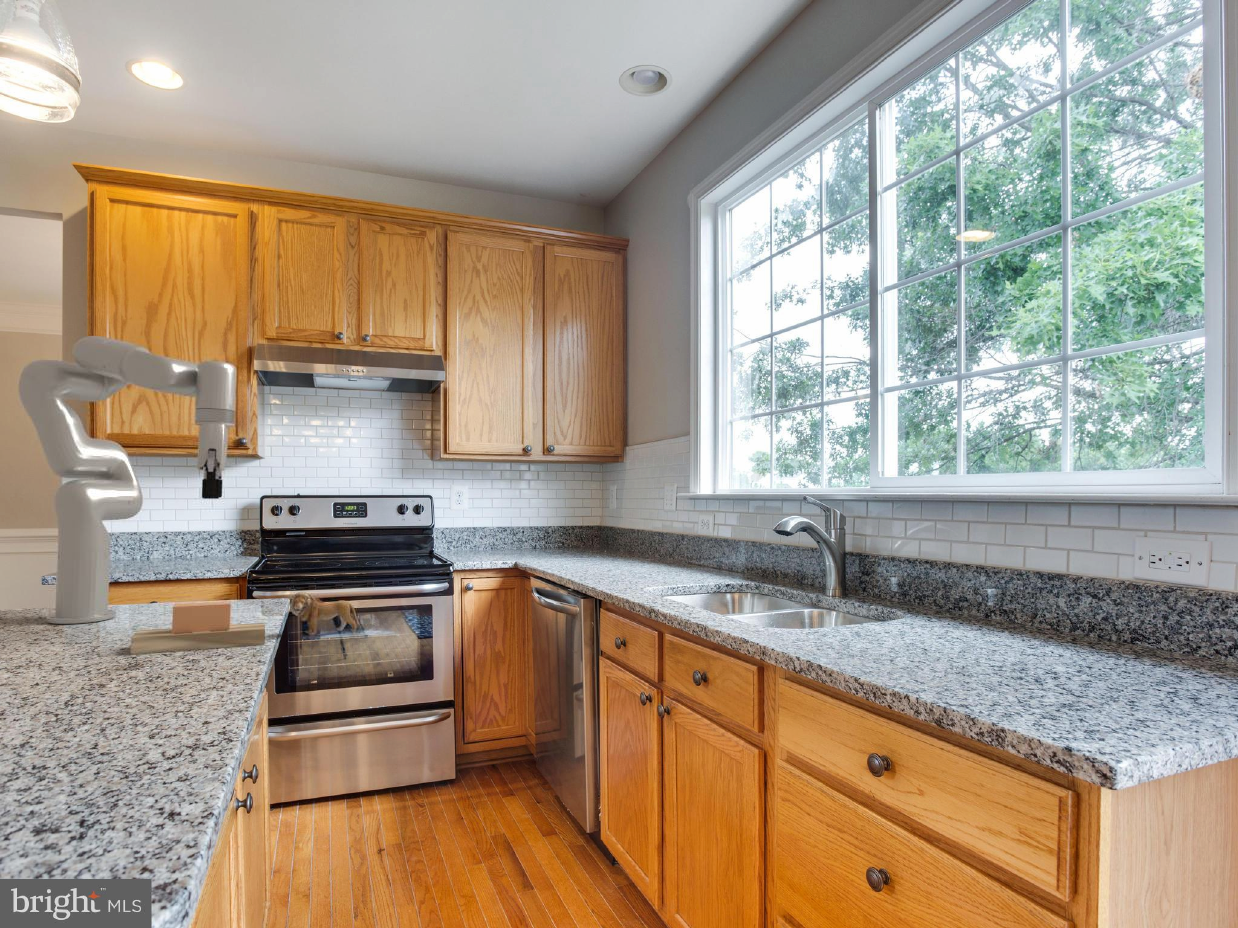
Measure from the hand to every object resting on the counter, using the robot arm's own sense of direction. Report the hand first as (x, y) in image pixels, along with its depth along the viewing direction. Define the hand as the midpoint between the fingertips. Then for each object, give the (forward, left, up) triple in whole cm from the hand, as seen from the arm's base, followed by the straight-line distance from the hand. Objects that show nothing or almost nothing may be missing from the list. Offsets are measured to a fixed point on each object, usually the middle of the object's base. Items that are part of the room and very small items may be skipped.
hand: (212, 497), depth 153 cm
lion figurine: (+12, +23, -28) cm, 38 cm away
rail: (+16, 0, -28) cm, 33 cm away
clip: (+16, 0, -28) cm, 32 cm away
